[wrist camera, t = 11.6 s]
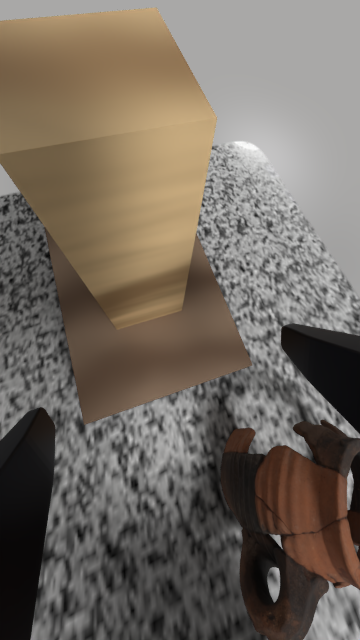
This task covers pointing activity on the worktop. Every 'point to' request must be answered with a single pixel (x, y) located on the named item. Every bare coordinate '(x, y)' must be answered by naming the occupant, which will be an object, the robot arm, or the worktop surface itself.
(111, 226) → the wooden block
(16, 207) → the worktop surface
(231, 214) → the worktop surface
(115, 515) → the worktop surface
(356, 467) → the brown jagged curved piece
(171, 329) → the footed wooden board
